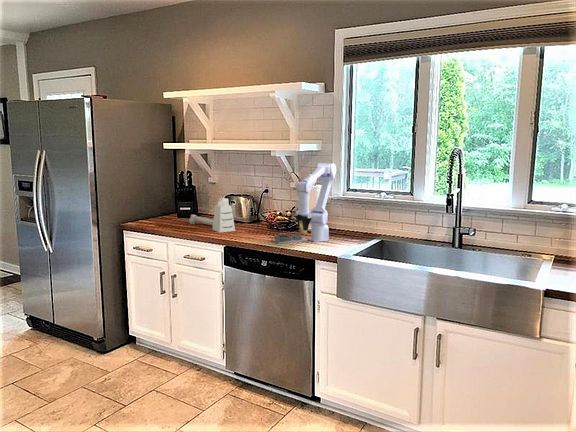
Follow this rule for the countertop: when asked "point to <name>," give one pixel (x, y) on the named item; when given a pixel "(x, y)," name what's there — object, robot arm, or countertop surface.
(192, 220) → the grey flared rod
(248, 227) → the countertop surface
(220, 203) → the grater
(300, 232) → the cylinder
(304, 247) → the countertop surface
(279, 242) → the manifold plate
